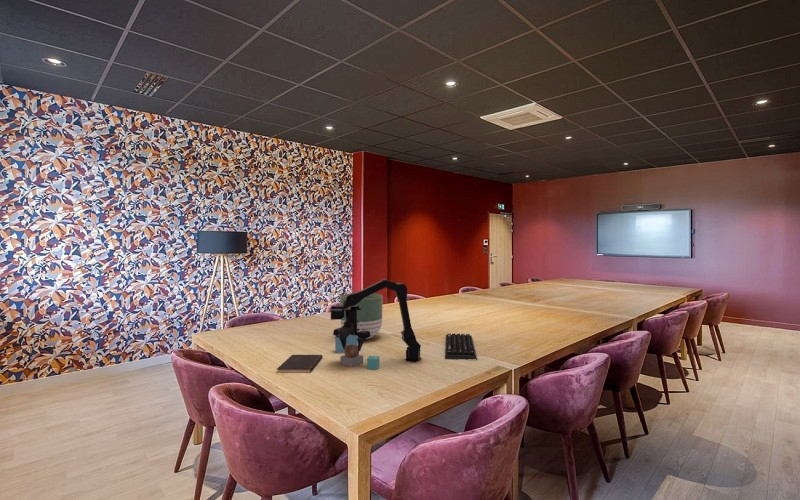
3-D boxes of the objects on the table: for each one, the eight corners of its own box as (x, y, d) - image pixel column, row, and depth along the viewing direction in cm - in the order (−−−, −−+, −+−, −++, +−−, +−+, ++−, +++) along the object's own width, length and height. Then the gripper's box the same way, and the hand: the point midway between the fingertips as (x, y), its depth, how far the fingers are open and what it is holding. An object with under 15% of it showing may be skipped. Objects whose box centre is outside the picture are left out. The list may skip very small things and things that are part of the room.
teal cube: (379, 366, 187) (379, 356, 187) (377, 369, 182) (377, 359, 182) (369, 366, 188) (369, 355, 188) (367, 369, 183) (366, 358, 183)
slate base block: (363, 363, 193) (363, 355, 193) (352, 367, 186) (351, 359, 186) (351, 360, 197) (351, 352, 197) (340, 364, 191) (340, 356, 191)
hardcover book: (276, 373, 179) (276, 368, 179) (292, 359, 202) (292, 354, 202) (310, 373, 178) (310, 369, 178) (322, 359, 201) (322, 354, 201)
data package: (357, 349, 217) (356, 328, 217) (357, 351, 213) (357, 330, 212) (335, 350, 215) (335, 329, 215) (335, 352, 210) (335, 331, 210)
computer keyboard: (445, 338, 243) (445, 332, 243) (471, 339, 241) (471, 333, 241) (445, 360, 198) (444, 352, 198) (476, 361, 196) (476, 353, 196)
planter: (356, 346, 224) (356, 300, 223) (331, 338, 243) (331, 295, 243) (391, 338, 241) (391, 295, 241) (365, 331, 261) (365, 291, 261)
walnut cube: (358, 355, 193) (358, 345, 193) (353, 357, 188) (353, 347, 188) (350, 354, 195) (350, 344, 195) (344, 356, 191) (344, 346, 191)
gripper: (326, 320, 189) (326, 352, 189) (358, 323, 180) (358, 356, 180) (339, 316, 198) (340, 346, 199) (370, 319, 190) (371, 351, 190)
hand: (351, 350), depth 192 cm, fingers open, 8 cm apart
